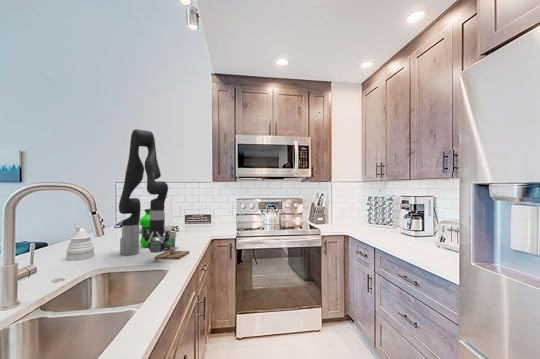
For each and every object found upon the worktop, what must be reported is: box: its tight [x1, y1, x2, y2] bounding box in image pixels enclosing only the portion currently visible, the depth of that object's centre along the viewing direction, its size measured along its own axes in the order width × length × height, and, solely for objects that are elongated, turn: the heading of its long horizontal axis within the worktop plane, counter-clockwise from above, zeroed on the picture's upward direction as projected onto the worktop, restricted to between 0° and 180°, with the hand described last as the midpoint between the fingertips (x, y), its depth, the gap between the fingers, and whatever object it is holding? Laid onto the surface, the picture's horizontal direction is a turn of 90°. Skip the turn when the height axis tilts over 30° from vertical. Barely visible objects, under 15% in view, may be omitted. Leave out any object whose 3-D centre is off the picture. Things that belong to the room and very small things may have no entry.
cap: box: [149, 239, 164, 254], centre depth 145 cm, size 6×6×5 cm
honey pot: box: [65, 225, 95, 262], centre depth 153 cm, size 13×13×18 cm
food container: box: [162, 231, 178, 252], centre depth 173 cm, size 12×6×10 cm, turn 168°
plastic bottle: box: [139, 208, 157, 248], centre depth 181 cm, size 10×10×25 cm
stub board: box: [154, 246, 190, 261], centre depth 156 cm, size 14×14×5 cm
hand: (156, 249), depth 145 cm, fingers closed on cap, 6 cm apart
